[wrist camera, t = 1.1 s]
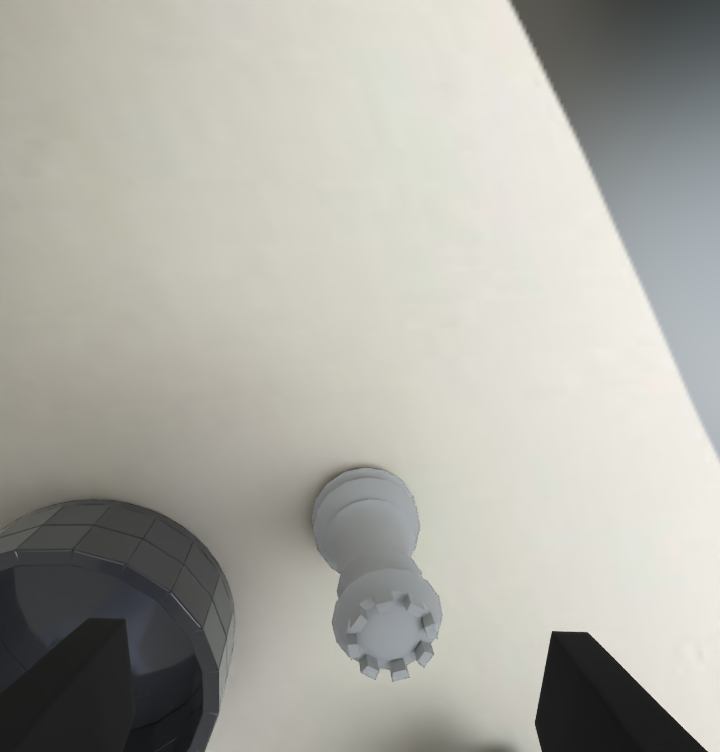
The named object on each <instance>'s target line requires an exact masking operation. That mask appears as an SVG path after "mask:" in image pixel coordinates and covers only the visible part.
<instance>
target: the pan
mask: <svg viewBox="0 0 720 752" xmlns="http://www.w3.org/2000/svg"><path fill="white" fill-rule="evenodd" d="M88 618H117V619H125V620H126V629H127V638H128V647H129V656H130V665H131V674H132V683H133V692H134V701H135V710H136V714H135V717H134V720H133V723H132V726H131V729H130V732H129V735H128V738H127V741H126V744H125V747H124V750H123V752H205V750H206V747H207V744H208V742H209V739H210V736H211V734H212V731H213V728H214V726H215V723H216V720H217V718H218V715H219V711H220V706H221V702H222V697H223V692H224V688H225V683H226V678H227V674H228V669H229V665H230V660H231V655H232V651H233V638H234V628H235V614H234V604H233V600H232V595H231V591H230V588H229V586H228V583H227V580H226V578H225V576H224V574H223V572H222V570H221V568H220V567H219V565H218V563H217V561H216V560H215V559H214V557H213V556H212V555H211V553H210V552H209V551H208V549H207V548H206V547H205V546H204V545H203V544H202V543H201V542H200V541H199V540H198V539H197V538H196V537H195V536H194V535H192V534H191V533H190V532H188V531H187V530H186V529H185V528H183V527H182V526H181V525H179V524H177V523H176V522H174V521H172V520H170V519H169V518H167V517H165V516H163V515H161V514H158V513H156V512H154V511H152V510H149V509H146V508H143V507H139V506H136V505H133V504H128V503H123V502H117V501H108V500H79V501H71V502H65V503H60V504H55V505H52V506H48V507H45V508H42V509H39V510H36V511H34V512H32V513H30V514H28V515H25V516H23V517H21V518H20V519H18V520H16V521H15V522H13V523H11V524H10V525H8V526H7V527H5V528H4V529H3V530H2V531H0V693H1V692H3V691H4V690H5V689H6V688H7V687H8V686H10V685H11V684H12V683H13V682H14V681H15V680H17V679H18V678H19V677H20V676H21V675H22V674H24V673H25V672H26V671H27V670H28V669H29V668H31V667H32V666H33V665H34V664H35V663H36V662H37V661H39V660H40V659H41V658H42V657H43V656H44V655H46V654H47V653H48V652H49V651H50V650H51V649H53V648H54V647H55V646H56V645H57V644H58V643H60V642H61V641H62V640H63V639H64V638H65V637H67V636H68V635H69V634H70V633H71V632H72V631H74V630H75V629H76V628H77V627H78V626H80V625H81V624H82V623H83V622H84V621H86V620H87V619H88Z"/></svg>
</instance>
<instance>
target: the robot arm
mask: <svg viewBox="0 0 720 752" xmlns="http://www.w3.org/2000/svg"><path fill="white" fill-rule="evenodd" d="M135 714H136V710H135V701H134V692H133V683H132V674H131V665H130V656H129V647H128V638H127V629H126V620H125V619H117V618H88V619H87V620H86V621H84V622H83V623H82V624H81V625H80V626H78V627H77V628H76V629H75V630H74V631H72V632H71V633H70V634H69V635H68V636H67V637H65V638H64V639H63V640H62V641H61V642H60V643H58V644H57V645H56V646H55V647H54V648H53V649H51V650H50V651H49V652H48V653H47V654H46V655H44V656H43V657H42V658H41V659H40V660H39V661H37V662H36V663H35V664H34V665H33V666H32V667H31V668H29V669H28V670H27V671H26V672H25V673H24V674H22V675H21V676H20V677H19V678H18V679H17V680H15V681H14V682H13V683H12V684H11V685H10V686H8V687H7V688H6V689H5V690H4V691H3V692H1V693H0V752H123V750H124V747H125V744H126V741H127V738H128V735H129V732H130V729H131V726H132V723H133V720H134V717H135ZM535 726H536V730H537V734H538V738H539V742H540V746H541V750H542V752H707V751H706V750H705V749H704V748H703V747H702V746H701V745H700V744H699V743H698V742H697V741H696V740H695V739H694V738H693V737H692V736H691V735H690V734H689V733H688V732H687V731H686V730H685V729H684V728H683V727H682V726H681V725H680V724H679V723H678V722H677V721H676V720H675V719H674V718H673V717H672V716H671V715H670V714H669V713H668V712H667V711H666V710H665V709H663V708H662V707H661V705H660V704H659V703H658V702H657V701H656V700H655V699H654V698H653V697H652V696H651V695H650V694H649V693H648V692H647V691H646V690H645V689H644V688H643V687H642V686H641V685H640V684H639V683H638V682H637V681H636V680H635V679H634V678H633V677H632V676H631V675H630V674H629V673H628V672H627V671H626V670H625V669H624V668H623V667H622V666H621V665H620V664H619V663H618V662H617V661H616V660H615V659H614V658H613V657H612V656H611V655H610V654H609V653H608V652H607V651H606V650H605V649H604V648H603V647H602V646H601V645H600V644H599V643H598V642H597V641H596V640H595V639H594V638H593V637H592V636H591V635H590V634H589V633H588V632H558V631H552V634H551V639H550V645H549V650H548V655H547V661H546V666H545V671H544V677H543V682H542V688H541V693H540V698H539V704H538V709H537V714H536V720H535Z"/></svg>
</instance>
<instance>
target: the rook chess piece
mask: <svg viewBox="0 0 720 752" xmlns="http://www.w3.org/2000/svg"><path fill="white" fill-rule="evenodd" d="M311 521H312V526H313V532H314V536H315V541H316V545H317V549H318V551H319V552H320V554H321V555H322V556H323V558H324V559H325V560H326V562H327V563H328V564H329V565H330V567H331V568H332V569H334V570H336V571H337V572H338V573H340V574H341V575H340V579H339V584H338V589H337V593H338V598H339V599H338V601H337V602H336V605H335V610H334V614H333V619H332V625H333V630H334V634H335V638H336V642H337V643H338V644H339V645H340V647H341V648H342V649H343V650H344V652H345V653H346V654H347V655H348V657H350V659H351V660H352V659H354V660H356V661H358V662H359V663H360V670H361V673H363V674H365V675H366V676H368V677H370V678H372V679H374V680H376V678H377V676H378V673H379V669H389V670H390V672H391V677H392V682H394V681H398V680H402V679H406V678H410V677H409V673H408V669H407V665H408V664H410V663H411V662H413V661H414V660H417V662H418V663H419V664H420V665H421V666H423V667H425V666H426V665H427V663H428V662H429V661H430V659H431V658H432V656H433V655H434V652H433V649H432V646H431V643H432V642H433V641H434V639H438V637H437V635H438V632H439V628H440V624H441V620H442V616H443V615H442V610H441V605H440V600H439V596H438V595H437V593H436V592H435V591H434V589H433V588H432V586H431V585H430V584H429V582H428V581H427V580H425V579H423V578H422V573H421V570H420V569H419V568H418V566H417V565H416V564H415V562H414V561H413V560H412V558H410V557H411V555H412V552H413V551H414V550H415V547H416V543H417V539H418V534H419V529H420V523H419V518H418V512H417V507H416V505H415V501H414V497H413V495H412V494H411V492H410V491H409V490H408V488H407V487H406V485H405V484H404V482H403V481H402V480H400V479H398V478H397V477H395V476H393V475H392V474H390V473H388V472H387V471H384V470H378V469H371V468H360V469H356V470H352V471H347V472H344V473H342V474H341V475H339V476H338V477H336V478H335V479H333V480H332V481H330V482H329V483H327V484H326V486H325V487H324V489H323V490H322V492H321V493H320V494H319V496H318V497H317V499H316V500H315V504H314V509H313V514H312V520H311Z"/></svg>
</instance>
